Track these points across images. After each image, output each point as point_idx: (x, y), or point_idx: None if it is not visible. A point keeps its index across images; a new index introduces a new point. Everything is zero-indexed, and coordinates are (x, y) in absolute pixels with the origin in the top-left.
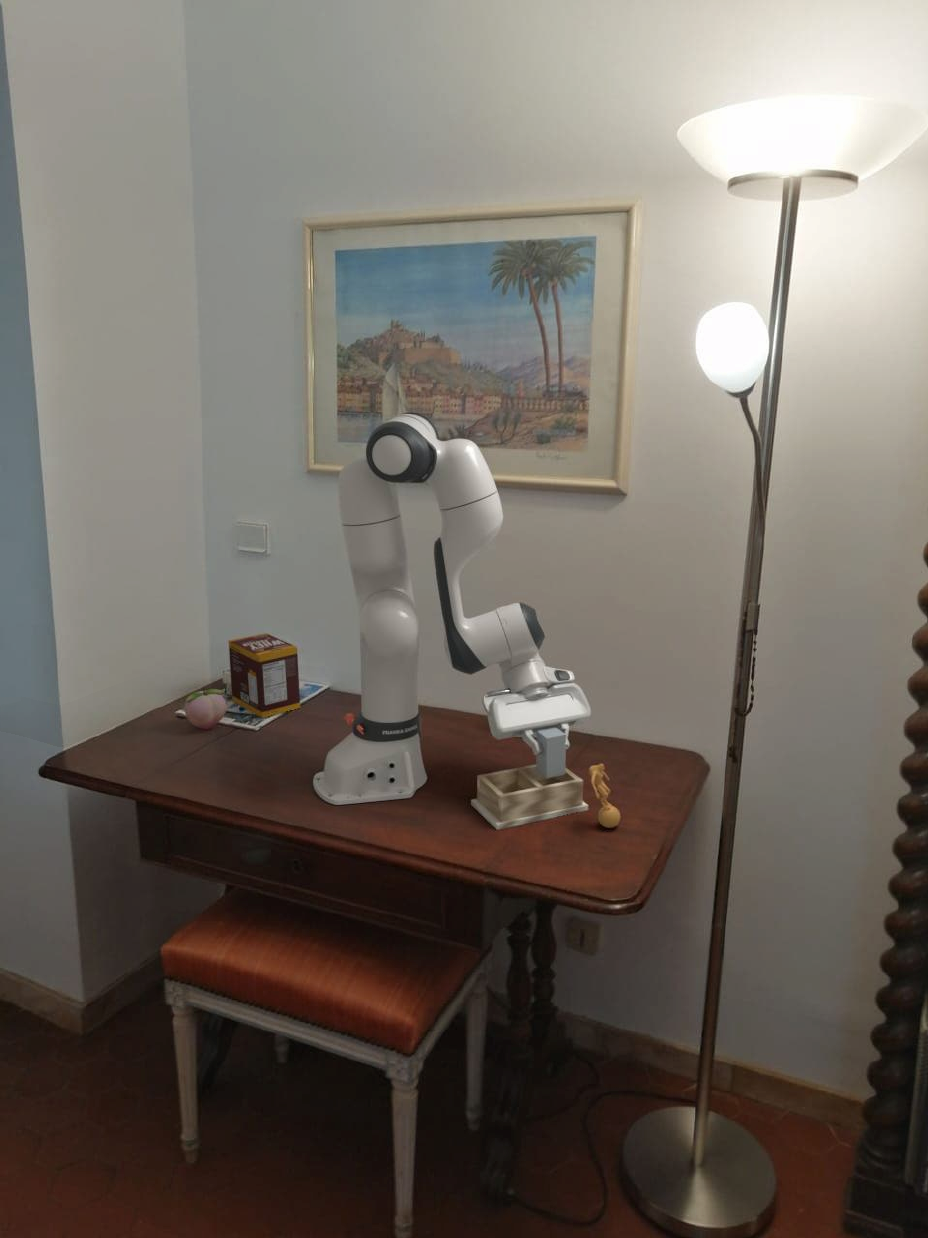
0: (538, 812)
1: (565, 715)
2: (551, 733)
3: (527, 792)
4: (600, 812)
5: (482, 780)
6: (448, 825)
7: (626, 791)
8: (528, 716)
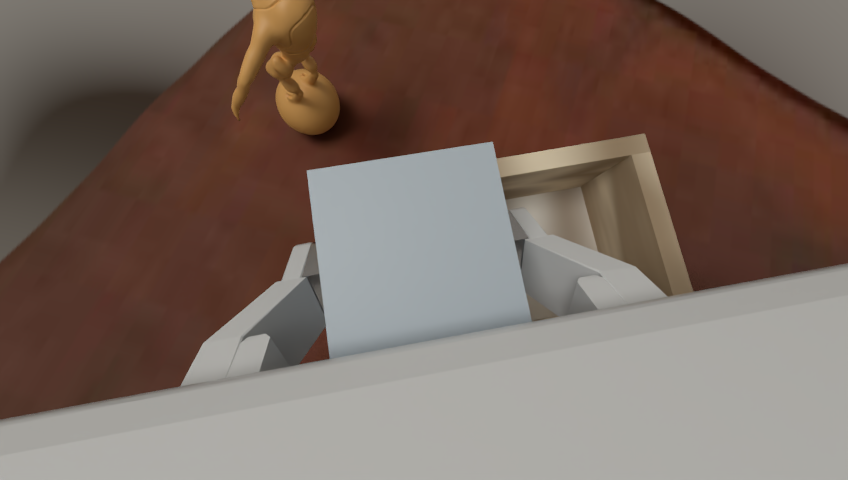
0: None
1: (106, 463)
2: (420, 232)
3: (544, 151)
4: (329, 94)
5: (689, 283)
6: (713, 218)
7: (174, 297)
8: (763, 448)
